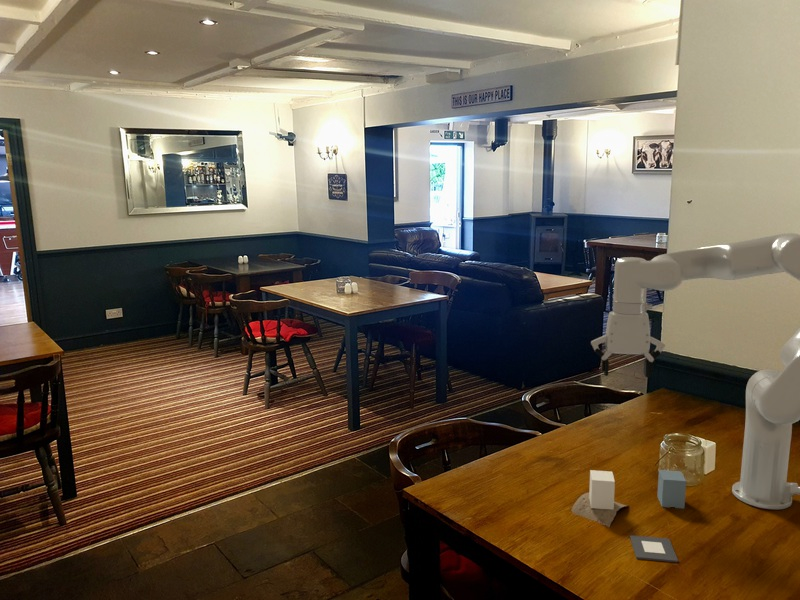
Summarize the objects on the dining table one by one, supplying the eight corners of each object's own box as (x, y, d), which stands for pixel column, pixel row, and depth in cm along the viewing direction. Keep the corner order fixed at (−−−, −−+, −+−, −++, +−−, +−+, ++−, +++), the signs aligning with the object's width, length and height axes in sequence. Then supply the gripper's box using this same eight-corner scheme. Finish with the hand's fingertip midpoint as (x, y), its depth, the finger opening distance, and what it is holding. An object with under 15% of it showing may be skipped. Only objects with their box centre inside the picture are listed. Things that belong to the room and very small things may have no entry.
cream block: (611, 498, 147) (612, 471, 146) (613, 509, 143) (614, 481, 141) (589, 497, 148) (590, 470, 147) (591, 507, 144) (592, 480, 142)
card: (668, 540, 133) (669, 538, 133) (678, 562, 125) (678, 560, 125) (629, 537, 135) (629, 534, 135) (636, 558, 127) (636, 556, 127)
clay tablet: (608, 533, 138) (608, 522, 137) (565, 518, 144) (566, 507, 144) (632, 507, 149) (632, 497, 148) (591, 494, 155) (592, 484, 155)
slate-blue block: (679, 498, 151) (680, 471, 149) (684, 508, 146) (686, 481, 145) (657, 496, 152) (658, 469, 150) (661, 506, 147) (663, 479, 146)
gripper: (663, 305, 154) (659, 371, 157) (590, 304, 157) (588, 369, 160) (670, 311, 147) (665, 381, 150) (594, 310, 150) (591, 378, 153)
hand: (625, 375), depth 155 cm, fingers open, 9 cm apart
